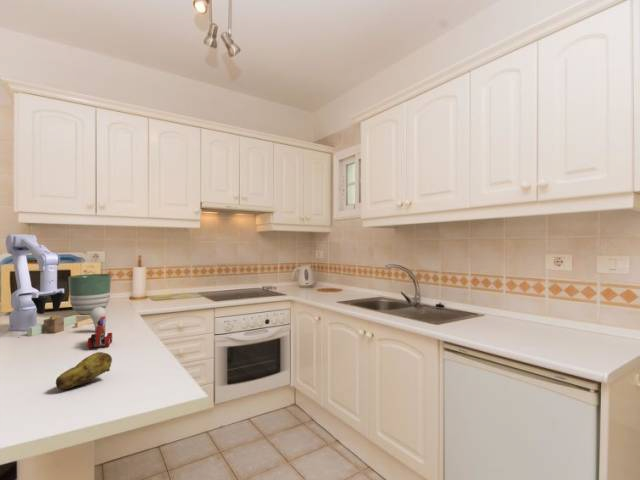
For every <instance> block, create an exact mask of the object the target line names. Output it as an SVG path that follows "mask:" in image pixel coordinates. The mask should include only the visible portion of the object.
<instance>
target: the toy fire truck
mask: <svg viewBox="0 0 640 480" xmlns="http://www.w3.org/2000/svg"><path fill="white" fill-rule="evenodd" d="M106 318H107V316H106V317H101V318H100V319H99V321H98V322H97V324H98V326H97V329H96V331H95V330H94V331H95V333H92V334H91V336H90V337H88V339H87V342H86V343H87V345H86V347H87V349H88V350H91V349H93V348H94V347H102V345H103V346H104V348H109V347H110V344H112V342H113V332H107V335H106V331H107V330H106V329H107V328H106V322H107V321H106V320H107V319H106Z"/></svg>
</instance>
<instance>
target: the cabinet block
mask: <svg viewBox="0 0 640 480" xmlns="http://www.w3.org/2000/svg"><path fill="white" fill-rule="evenodd" d="M64 318H65V317H59V315H57V314H56V315H52V316H49V318H46V319H43V324H44V333H43V334H44V335H45V334H47V335H49V334H54V335H55V334H58V333H61V332H64V331H65V326H64Z"/></svg>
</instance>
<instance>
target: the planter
mask: <svg viewBox="0 0 640 480" xmlns="http://www.w3.org/2000/svg"><path fill="white" fill-rule="evenodd" d="M111 283H112V275H111V274H110V273H109V274H108V273H96V274H95V273H92V274H91V273H89V274H77V275H70V276H68V290H69V292H68V293H69V302H70V305H71V307H72V310H73V311H74V312H76V313H77V314H78V315H90V313H91V311H92V310H93V309H94V308H97V307H102V308H104V309H105V310H106V308H107V307H108V305H109V302H110V296H111V286H112V285H111Z"/></svg>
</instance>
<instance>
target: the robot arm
mask: <svg viewBox="0 0 640 480" xmlns="http://www.w3.org/2000/svg"><path fill="white" fill-rule="evenodd" d="M37 241H38V239H37V236H36V235H35V234H32V233H31V234H24V233H23V234H19V233H17V234H15V233H14V234H13V233H9V234H8V235H7V236H6V238H5V246H6V247H5V248H6V251H7V253H8V254H9V255H11V259H12V264H13V269H14V275H15V281H16V285H17V289H16V290H15V291H13V292H12V293H11V295H10V307H11V309H13V310H11V312H9V313H10V314H9V316H8V317H9V319H8V320H9V321H8V322H9V323H8V324H9V325H8V326H9V327H8V328H7V331H28V328H29V327H33V326H36V325H38V324H37V313H38V314H39V315H41V314H42V315H44V314H45V311H46V304H47V300H48V297H47V296H50V299H51V304H52V310H53V311H59V310H60V308H61V304H62V302H63V299H64V298H65V297H66V293H65V288H58V266H59V265H60V263H61V257H60V254H59V253H58V252H52V251H50V249H48V248H47V247H46V246H45V245H44V244H39V243H38V242H37ZM29 254H31V256H33V257H34V259H36V260H37V261H36V262H37V266H38V270H39V271H40V277H39V279H40V280H39V281H40V287H39V289H40V290H39V289H37V288H34V287H32V281H31V275H30V269H29V265H28V259H27V255H29ZM45 296H46V297H45Z"/></svg>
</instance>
